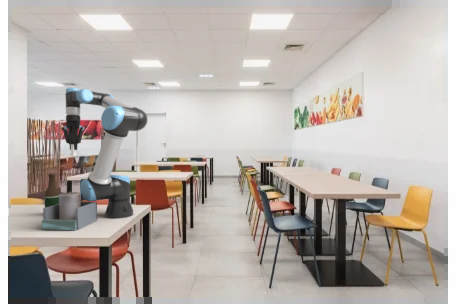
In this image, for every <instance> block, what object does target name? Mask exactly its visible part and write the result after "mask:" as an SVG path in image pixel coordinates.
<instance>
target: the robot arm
mask: <svg viewBox="0 0 456 304" xmlns="http://www.w3.org/2000/svg"><path fill="white" fill-rule="evenodd" d="M114 97H115V96H113V95H112V94H110V93H103V92H97V91H92V90H89V89H88V88H81V89H79V88H78V87H67V88H66V89H65V115H66V116H65V122H66V123H65V125H64V126H62V127H61V130H62V132H63V135H64V136H63V137H64V140H65V143H66V144H68V145H69V151H70V156H77V150H78V145H79V144H81V143H82V142H81V141H82V138H83V133H84V131H85V129H86V127H85V126H83V125H81V116H80V115H81V104H83V105H84V104H85V105H91V106H100V107H102V108H104V110H103V112H102V113H101V117H100V120H101V122H100V123H101V126H102V128H103V129H102V130H103V132H104V137H103V140H102V143H101V146H100V149H99V153H98V156H97V159H96V162H95V165H94V168H93V171H92V172H89V174H88V176H87V178H85V179H83V180H81V182H80V186H79V189H80V195H82V198H83V199H84V200H85V202H97V201H101V200H107V201H108V202H107V206H106V210H105V214H104V217H105V218H108V219H121V218H128V217H131V216H134V208H133V206H132V204H131V180H130V176H128V175H122V174H121V175H120V174H119V175H117V174H112V172H113V169H114V166H115V163H116V160H117V157H118V154H119V151H120V148H121V146H122V144H123V143H122V142H123V140H124V139H125V138H127V137H128V134H129V132H138V131H141V130H143V129H144V128H145V127H146V126H147V124H148V116H147V114H146V112H145V111H144V110H143V109H141V108H138V107H135V106H133V107H132V106H130V105H129V104H126V103H124V102H122V101H120V100H118V99H116V98H114Z"/></svg>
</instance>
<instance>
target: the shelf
mask: <svg viewBox="0 0 456 304" xmlns="http://www.w3.org/2000/svg"><path fill="white" fill-rule="evenodd" d="M76 229H77V222H76V220H59V218H57V219H54V220H43V219H42V220H41V230H45V231H50V230H51V231H54V230H55V231H77V230H76Z"/></svg>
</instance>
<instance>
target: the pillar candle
mask: <svg viewBox="0 0 456 304" xmlns="http://www.w3.org/2000/svg"><path fill="white" fill-rule="evenodd" d="M81 202H82V200H81V192H77V191H76V192H72V191H70V192H64V193H59V220H76V218H75V209H76V208H79V207H81Z"/></svg>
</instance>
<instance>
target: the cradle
mask: <svg viewBox="0 0 456 304" xmlns="http://www.w3.org/2000/svg"><path fill="white" fill-rule="evenodd" d="M57 218H59V204H57V205H53V206H50V207H46V208H45V207H43V208H42V220H54V219H57ZM75 218H76V222H77V229H76V230H75V231H79V230H81V229H83V228H85V227H87V226H89V225H91V224H93V223H96V222H97V221H98V201H81V207H79V208H76V209H75Z"/></svg>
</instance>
